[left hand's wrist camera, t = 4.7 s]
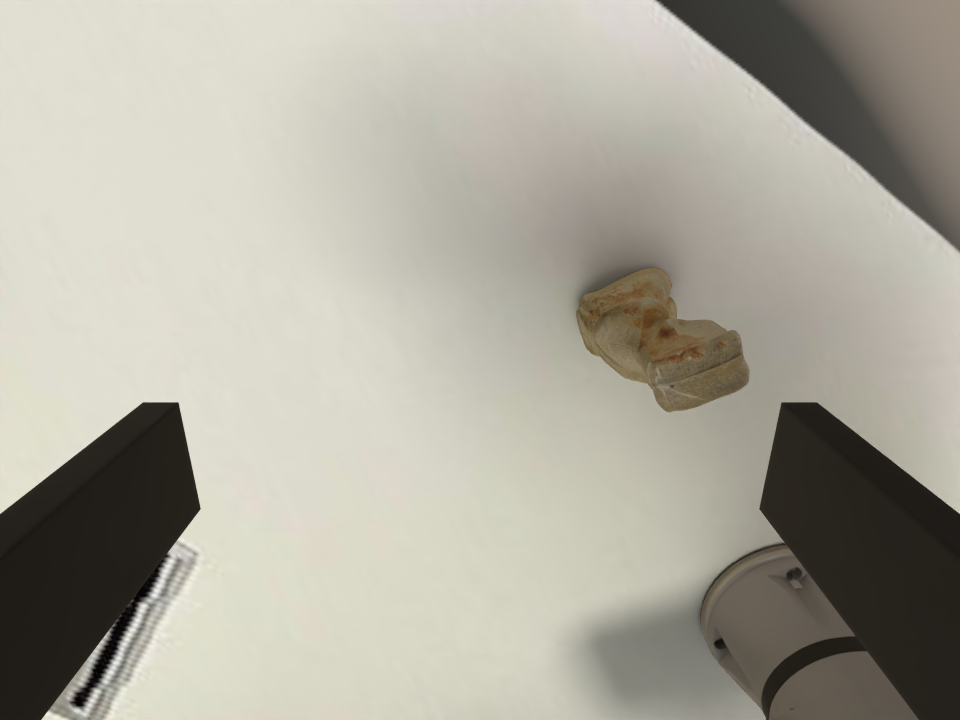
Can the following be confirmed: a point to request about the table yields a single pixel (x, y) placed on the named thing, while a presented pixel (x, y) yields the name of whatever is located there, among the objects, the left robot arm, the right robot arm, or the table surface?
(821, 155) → the table surface
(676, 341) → the sculpture
